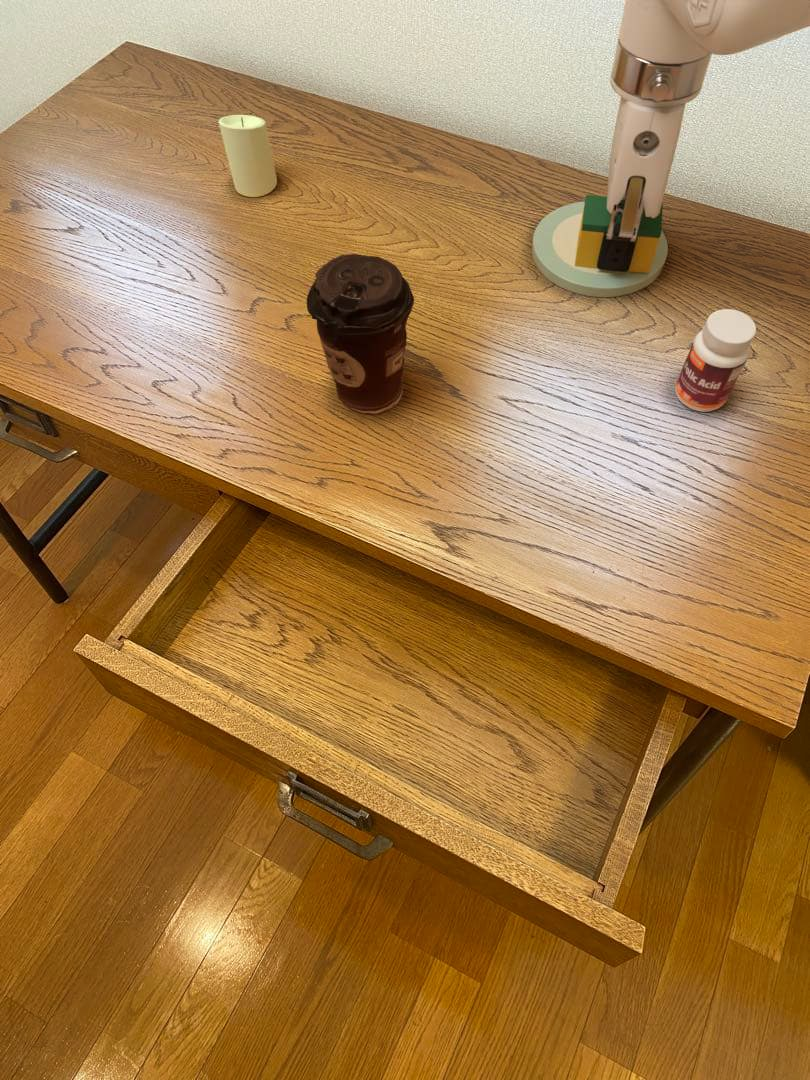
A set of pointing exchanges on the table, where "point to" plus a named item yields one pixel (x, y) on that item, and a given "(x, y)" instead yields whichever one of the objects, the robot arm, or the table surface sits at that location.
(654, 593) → the table surface
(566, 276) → the plate
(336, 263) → the coffee cup
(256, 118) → the candle
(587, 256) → the sponge
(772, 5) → the robot arm
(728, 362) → the pill bottle
